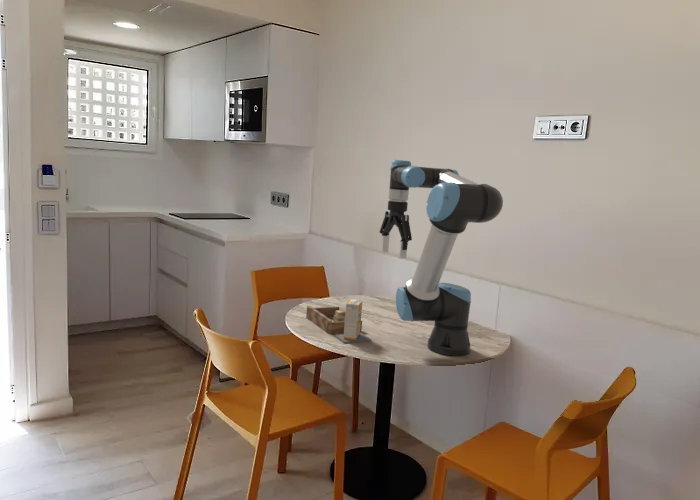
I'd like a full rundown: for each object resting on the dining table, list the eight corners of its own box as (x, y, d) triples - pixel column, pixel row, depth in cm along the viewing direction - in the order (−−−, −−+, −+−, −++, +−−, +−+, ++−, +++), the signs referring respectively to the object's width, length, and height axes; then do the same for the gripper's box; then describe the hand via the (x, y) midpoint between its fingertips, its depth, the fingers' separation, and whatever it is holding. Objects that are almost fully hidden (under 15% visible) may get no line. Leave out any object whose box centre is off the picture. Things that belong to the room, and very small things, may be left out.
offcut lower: (355, 326, 223) (356, 319, 222) (350, 327, 221) (350, 320, 220) (338, 321, 229) (339, 314, 228) (333, 322, 226) (333, 315, 226)
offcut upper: (351, 315, 227) (351, 309, 226) (354, 317, 224) (354, 311, 224) (335, 316, 224) (335, 310, 224) (338, 318, 221) (338, 312, 221)
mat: (371, 341, 205) (371, 339, 205) (344, 343, 200) (344, 341, 200) (361, 334, 212) (361, 332, 212) (334, 336, 207) (334, 334, 207)
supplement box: (356, 340, 202) (359, 305, 200) (343, 338, 203) (345, 303, 201) (360, 334, 210) (363, 299, 208) (347, 332, 211) (350, 298, 209)
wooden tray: (361, 331, 216) (362, 318, 215) (327, 333, 210) (328, 320, 209) (337, 315, 235) (338, 304, 234) (306, 317, 229) (307, 305, 228)
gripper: (424, 204, 209) (419, 260, 212) (390, 198, 231) (385, 249, 234) (407, 203, 205) (401, 261, 209) (373, 197, 227) (369, 249, 230)
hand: (393, 255), depth 221 cm, fingers open, 13 cm apart
